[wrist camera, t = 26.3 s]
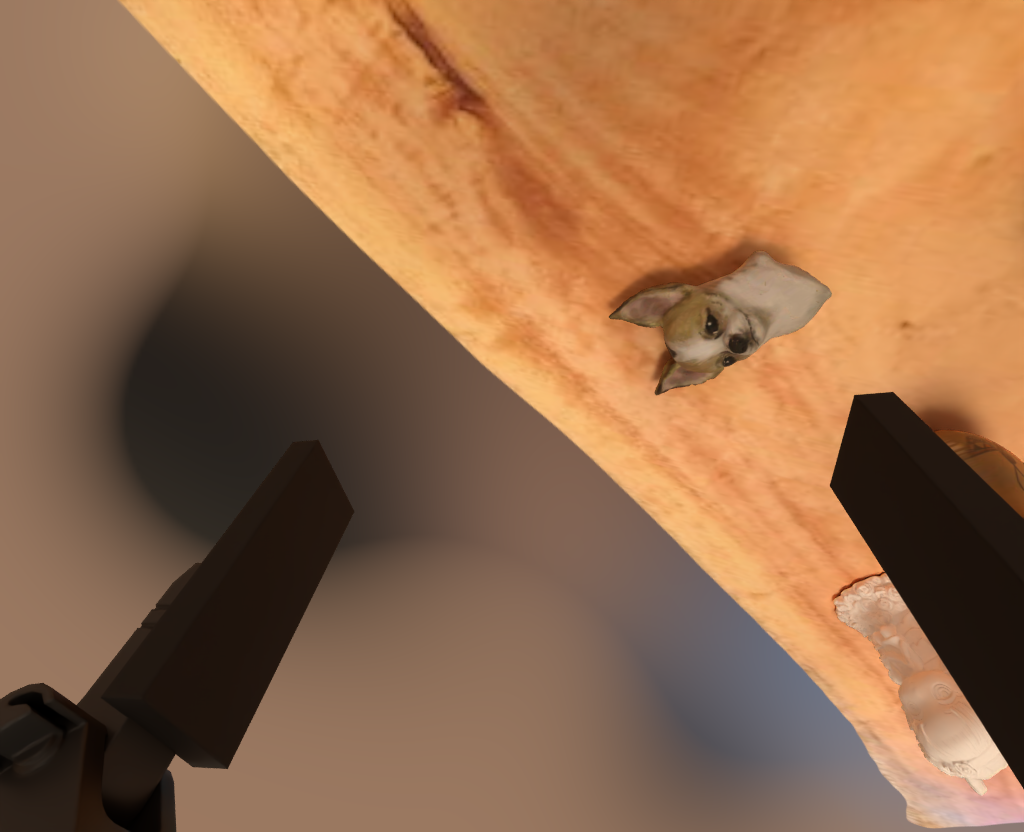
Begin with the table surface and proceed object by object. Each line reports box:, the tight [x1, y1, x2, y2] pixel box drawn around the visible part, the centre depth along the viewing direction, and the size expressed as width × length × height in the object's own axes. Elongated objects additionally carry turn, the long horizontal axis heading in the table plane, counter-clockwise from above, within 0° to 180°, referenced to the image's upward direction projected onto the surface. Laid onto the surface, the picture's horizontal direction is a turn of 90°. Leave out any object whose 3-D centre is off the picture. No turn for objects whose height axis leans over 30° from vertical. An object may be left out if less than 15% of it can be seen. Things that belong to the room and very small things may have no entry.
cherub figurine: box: [834, 573, 1008, 795], centre depth 55 cm, size 13×12×20 cm
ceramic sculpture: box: [609, 251, 832, 395], centre depth 39 cm, size 11×9×15 cm
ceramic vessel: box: [934, 430, 1024, 519], centre depth 39 cm, size 16×9×25 cm, turn 35°
